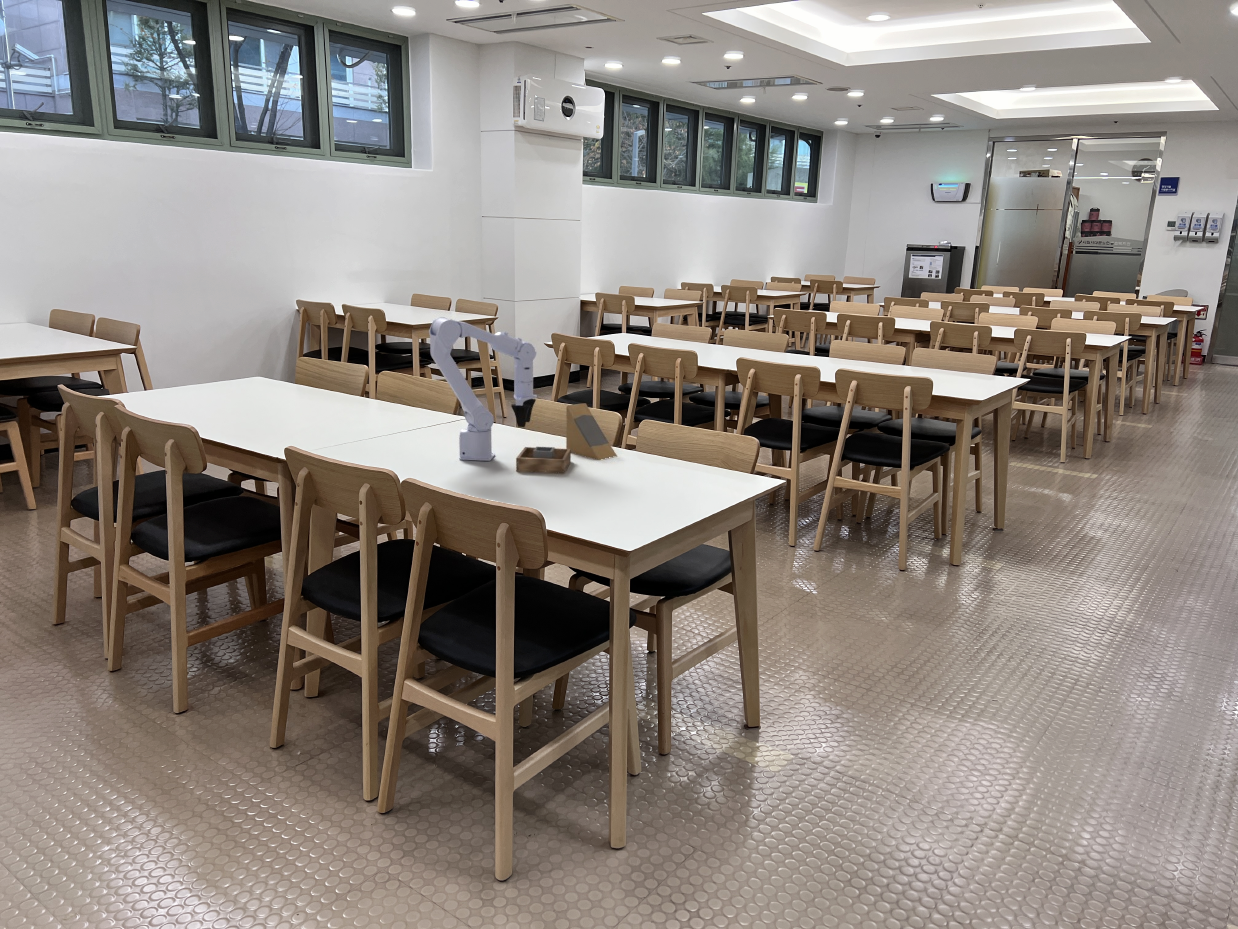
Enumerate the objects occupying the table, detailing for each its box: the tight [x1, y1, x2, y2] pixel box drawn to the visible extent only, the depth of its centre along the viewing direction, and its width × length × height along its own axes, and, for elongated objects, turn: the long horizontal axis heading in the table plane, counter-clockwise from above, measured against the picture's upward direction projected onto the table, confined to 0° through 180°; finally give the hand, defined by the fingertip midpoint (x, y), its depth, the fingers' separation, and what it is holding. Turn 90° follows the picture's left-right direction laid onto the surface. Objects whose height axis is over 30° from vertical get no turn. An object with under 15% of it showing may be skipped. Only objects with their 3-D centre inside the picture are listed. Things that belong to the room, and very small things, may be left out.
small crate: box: [533, 446, 556, 459], centre depth 257 cm, size 6×6×4 cm
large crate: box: [515, 446, 572, 475], centre depth 258 cm, size 14×14×4 cm
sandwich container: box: [565, 402, 618, 461], centre depth 273 cm, size 9×15×15 cm, turn 46°
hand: (523, 424), depth 271 cm, fingers open, 7 cm apart
